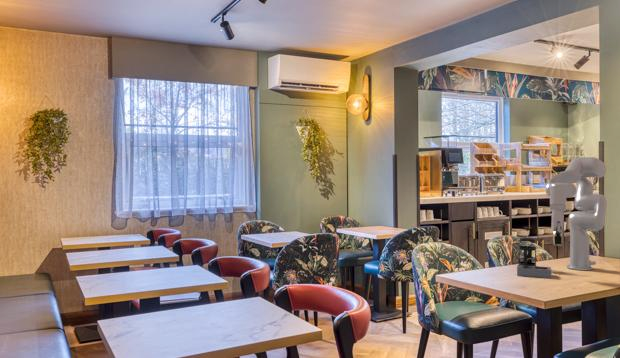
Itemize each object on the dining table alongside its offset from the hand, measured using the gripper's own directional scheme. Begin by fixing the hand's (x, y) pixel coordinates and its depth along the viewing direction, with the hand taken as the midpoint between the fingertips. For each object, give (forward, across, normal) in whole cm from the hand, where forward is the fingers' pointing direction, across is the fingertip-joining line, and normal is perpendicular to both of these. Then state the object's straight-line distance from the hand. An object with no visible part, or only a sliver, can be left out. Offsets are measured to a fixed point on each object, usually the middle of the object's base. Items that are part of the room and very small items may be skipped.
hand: (557, 243), depth 263 cm
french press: (+18, -20, -14) cm, 30 cm away
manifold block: (+17, -1, -11) cm, 20 cm away
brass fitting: (+1, 0, 0) cm, 1 cm away
